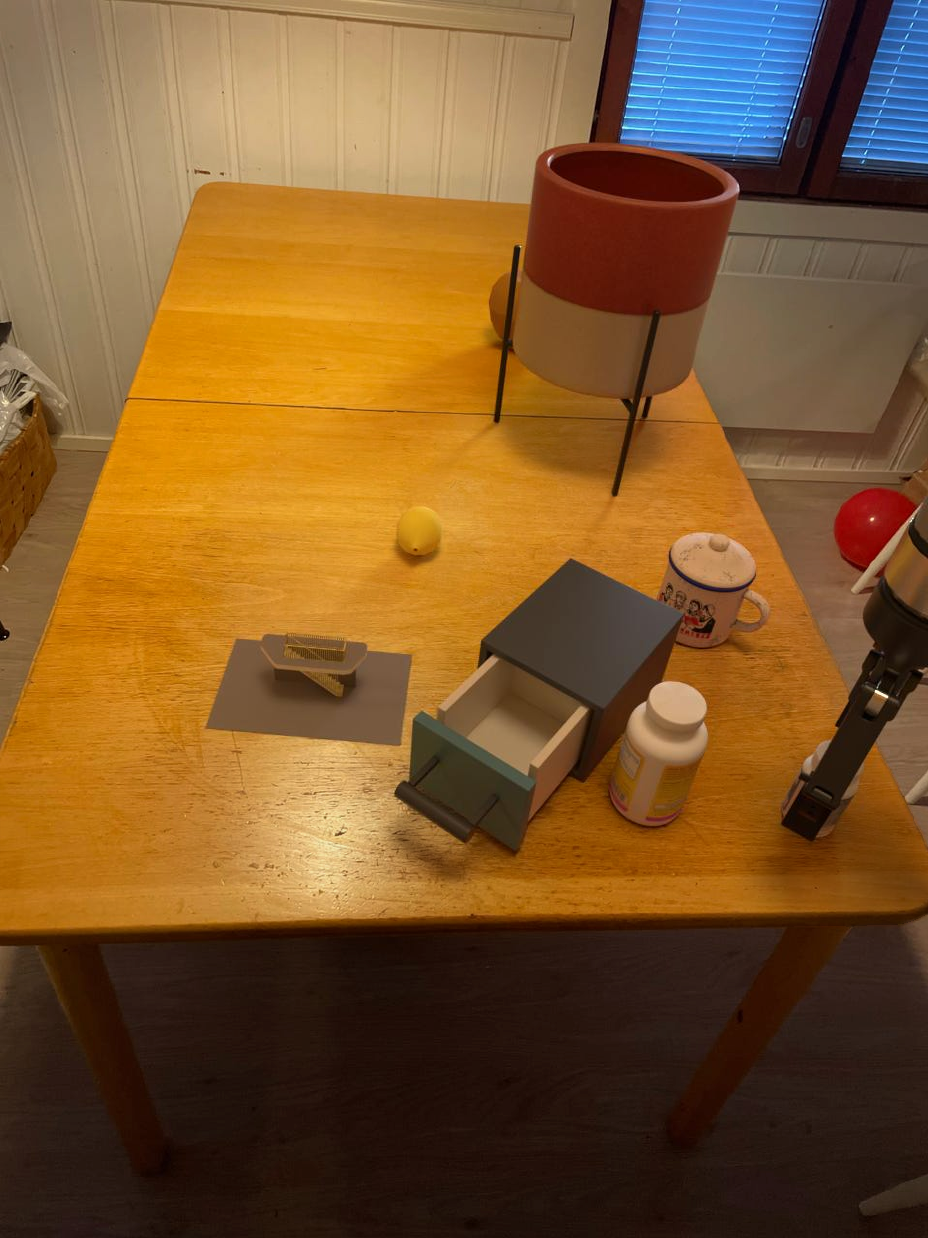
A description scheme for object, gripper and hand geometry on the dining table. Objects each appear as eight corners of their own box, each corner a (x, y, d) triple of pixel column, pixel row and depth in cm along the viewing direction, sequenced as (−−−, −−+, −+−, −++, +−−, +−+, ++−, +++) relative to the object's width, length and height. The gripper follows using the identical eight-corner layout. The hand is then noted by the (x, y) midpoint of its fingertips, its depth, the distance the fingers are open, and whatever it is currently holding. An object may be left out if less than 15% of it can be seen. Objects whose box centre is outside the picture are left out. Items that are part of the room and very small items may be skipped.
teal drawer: (481, 893, 70) (492, 834, 64) (371, 817, 74) (372, 755, 69) (601, 746, 82) (619, 685, 77) (500, 688, 87) (510, 626, 81)
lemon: (400, 528, 106) (402, 491, 102) (445, 535, 106) (448, 497, 102) (390, 565, 101) (391, 527, 97) (436, 571, 100) (439, 533, 97)
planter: (527, 500, 112) (572, 209, 88) (485, 402, 130) (513, 138, 106) (697, 492, 117) (784, 213, 93) (634, 398, 135) (693, 144, 111)
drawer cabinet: (583, 783, 80) (604, 708, 73) (471, 715, 85) (480, 639, 78) (659, 686, 90) (684, 613, 83) (555, 631, 95) (570, 557, 88)
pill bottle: (843, 835, 78) (881, 777, 72) (795, 842, 77) (830, 784, 71) (817, 791, 81) (851, 733, 76) (771, 797, 80) (802, 738, 75)
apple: (472, 331, 148) (478, 262, 140) (539, 322, 152) (549, 255, 145) (507, 366, 139) (515, 295, 132) (577, 355, 144) (589, 286, 136)
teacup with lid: (635, 622, 97) (659, 537, 89) (675, 584, 102) (702, 501, 94) (733, 677, 92) (768, 593, 84) (770, 634, 97) (807, 551, 89)
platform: (400, 745, 81) (402, 697, 77) (205, 727, 81) (196, 678, 77) (411, 654, 90) (414, 607, 86) (236, 638, 90) (230, 589, 85)
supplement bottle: (691, 789, 80) (731, 694, 72) (665, 842, 76) (705, 747, 67) (624, 757, 83) (655, 660, 74) (595, 806, 78) (624, 709, 69)
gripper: (947, 727, 52) (818, 907, 67) (1027, 535, 68) (908, 714, 82) (826, 667, 55) (727, 852, 70) (929, 495, 71) (830, 676, 85)
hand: (825, 778), depth 76 cm, fingers open, 13 cm apart
